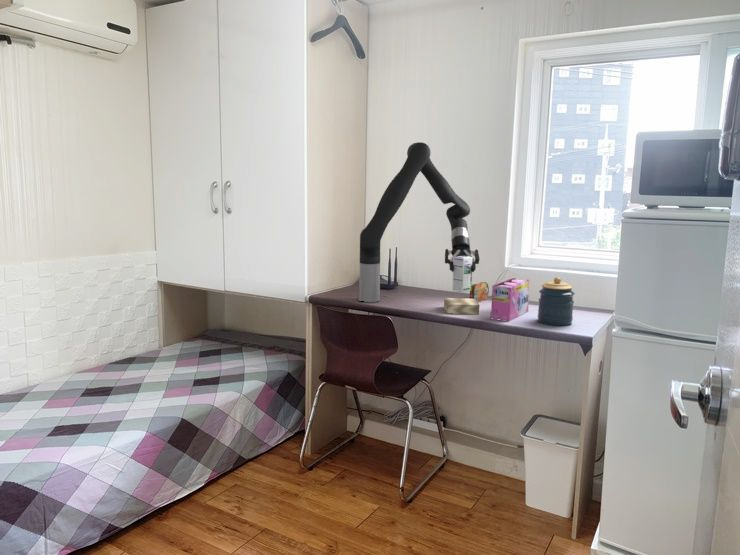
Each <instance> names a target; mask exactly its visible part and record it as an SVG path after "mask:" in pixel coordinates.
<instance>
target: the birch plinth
mask: <svg viewBox="0 0 740 555" xmlns="http://www.w3.org/2000/svg"><path fill="white" fill-rule="evenodd" d="M443 309H444V311H445V310H446V311H445V313H446V312H447V313H453V314H452V315H478V314H479V315H480V304H479V302H477V301H476V300H475V299H470V297H467V298H461V297H459V298H457V297H453V298H452V297H444V298H443ZM447 313H446V314H447Z"/></svg>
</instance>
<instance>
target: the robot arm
mask: <svg viewBox="0 0 740 555" xmlns="http://www.w3.org/2000/svg"><path fill="white" fill-rule="evenodd" d="M406 155H407V158H406V159H405V161H404V163H403V165H402V168H401V169H400V170H399V171H398V172H397V174H396V175H395V176H394V177H393V178H392V179H391V181H390V182H389V184H388V185H387V187H386V189H385V190H384V192H383V194H382V196H381V198H380V199H379V202H378V203H377V204H378V205H377V207H376V209H375V212H374V214H373V216H372V218H371V219H370V221H369V222H368V223H367V225H366V227H365V228H363V229H362V230H361V232H360V235H359V280H358V302H359V301H364V302H363V303H377V301H378V302H380V301H379V300H380V296H381V295H380V294H381V292H380V291H381V240H382V238H383V235H384V233H385V231H386V229H387V228H388V226H389V223H390V222H391V221H392V219H393V218H394V216H395V215H396V214H397V212H398V211H399V209H400V208H401V206H402V205H403V203H404V201H405V199H406V198H407V195H408V194H409V192H410V190H411V189H412V186H413V184H414V183H415V180H416V178H417V176H418V175H419V174H420V173H421V174H422V175H423V176H424V177H425V179H426V181H427V182H428V184H429V185H430V186H431V188H432V190H433V191H434V193H435V194H436V196H437V197H438V198H439V200H440V202H441V203H442V204H443V205H448V204H453V205H452V206H449V207H448V208H447V209H446V213H445V214H446V217H447V220H448V221H449V225H450V228H451V229H450V230H451V236H450V238H451V250H449V249H448V248H446V249H445V251H444V264H448V265H449V270H450V271H451V273H453V270H454V267H453V257H458V256H470V257H472V273H474V272H475V271H476V267H477V266H476V265H479V264H480V254H479V250H478V249H475V250H472V249H471V246H470V245H471V244H470V236H469V230H468V222H467V221H466V220H465V218H466V217H468V216H469V215H470V212H471V209H470V206H469V203H467V202H466V201H465V200H464V199H463V198H461V197H460V196H459V195H458V194H457V193H456V192H455V191H454V189H453V188H452V186H451V185H450V184H449V182H448V181H447V179H446V178H445V177H444V176H443V174H441V172H440V171H438V168H436V166H435V165H434V163H433V161H432V160H431V148H430V146H429V145H428V144H426V143H425V142H413V143H412V144H410V145H409V147H408V148H407V152H406ZM450 255H452V257H450V259H449V256H450Z"/></svg>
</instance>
